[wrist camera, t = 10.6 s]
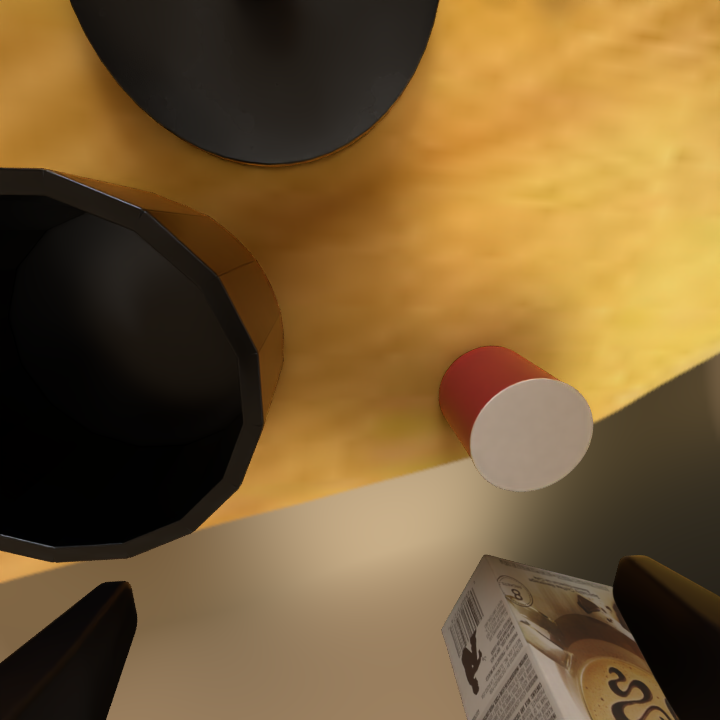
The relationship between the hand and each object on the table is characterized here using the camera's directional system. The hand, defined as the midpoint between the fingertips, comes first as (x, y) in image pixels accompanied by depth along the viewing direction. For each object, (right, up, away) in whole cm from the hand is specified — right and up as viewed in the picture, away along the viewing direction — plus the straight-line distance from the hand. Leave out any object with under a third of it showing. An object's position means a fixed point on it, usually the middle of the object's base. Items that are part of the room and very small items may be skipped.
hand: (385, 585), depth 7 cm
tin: (-9, +5, +10) cm, 14 cm away
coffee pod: (+6, +3, +12) cm, 13 cm away
